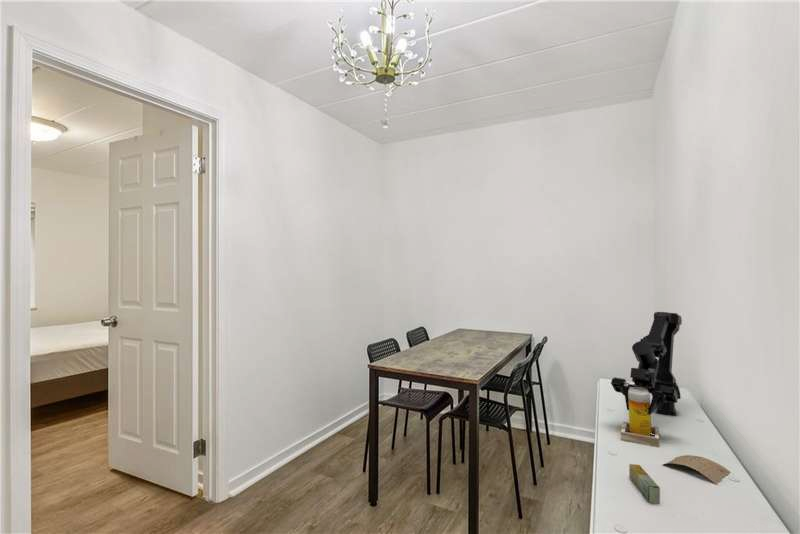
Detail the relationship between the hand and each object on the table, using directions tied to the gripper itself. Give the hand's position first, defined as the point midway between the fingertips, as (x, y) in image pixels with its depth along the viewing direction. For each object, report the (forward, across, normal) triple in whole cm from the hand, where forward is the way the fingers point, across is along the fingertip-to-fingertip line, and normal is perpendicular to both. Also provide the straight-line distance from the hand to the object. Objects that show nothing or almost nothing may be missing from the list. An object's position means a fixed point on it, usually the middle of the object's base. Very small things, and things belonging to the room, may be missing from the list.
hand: (638, 412), depth 130 cm
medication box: (+29, +10, -17) cm, 35 cm away
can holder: (+5, 0, +7) cm, 9 cm away
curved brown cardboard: (+15, +17, -1) cm, 23 cm away
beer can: (+5, 0, +7) cm, 8 cm away
